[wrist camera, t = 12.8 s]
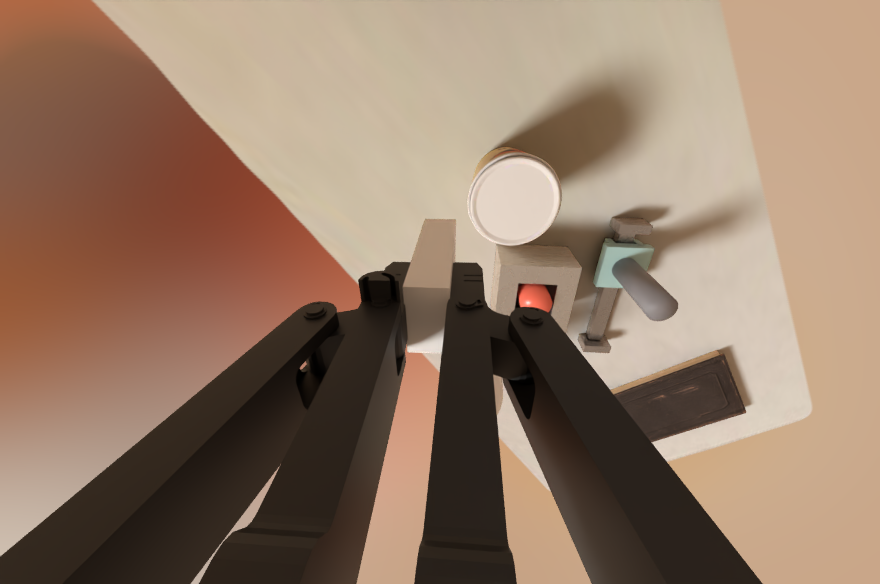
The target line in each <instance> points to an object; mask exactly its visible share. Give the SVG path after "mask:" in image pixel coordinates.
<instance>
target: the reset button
mask: <svg viewBox="0 0 880 584" xmlns="http://www.w3.org/2000/svg"><path fill="white" fill-rule="evenodd" d="M517 295H518V299H519V303H520V306H521V307H536V308H539V309H542V310H544V311H546V312H549V311H550V309H551V307H552V299H551V297H550V294H549V292H548V290H547V287H546V285H545V284H524V283H518V289H517Z"/></svg>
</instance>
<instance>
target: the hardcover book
mask: <svg viewBox="0 0 880 584" xmlns="http://www.w3.org/2000/svg"><path fill="white" fill-rule="evenodd" d="M610 391H611V392H612V393H613V394H614V396H615V397H616V398H617V399H618V401H619V402H620V403H621V405H622V406H623V407H624V408H625V410H626V411H627V412H628V413H629V415H630V416H631V417H632V419H633V420H634V421H635V422H636V424H637V425H638V426H639V427H640V429H641V430H642V431H643V432H644V434H645V435H646V436H647V438H648V439H649V440H650V441H651V442H654V441H657V440H660V439H663V438H667V437H670V436H673V435H676V434H679V433H683V432H686V431H689V430H692V429H696V428H699V427H702V426H705V425H708V424H712V423H715V422H718V421H721V420H724V419H728V418H731V417H734V416H737V415H741V414H744V413H746V410H745V407H744V405H743V402H742V400H741V397H740V394H739V392H738V389H737V387H736V384H735V381H734V379H733V376H732V374H731V371H730V368H729V366H728V363H727V360H726V358H725V355H724V354H721V355H720V354H719V353H718V352H717V351H713V352H710V353H708V354H705V355H702V356H700V357H697V358H694V359H692V360H689V361H686V362H684V363H681V364H678V365H676V366H673V367H670V368H668V369H665V370H662V371H660V372H657V373H654V374H652V375H649V376H646V377H644V378H641V379H638V380H636V381H633V382H630V383H628V384H625V385H623V386H620V387H617V388H615V389H612V390H610Z"/></svg>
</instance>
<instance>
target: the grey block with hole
mask: <svg viewBox="0 0 880 584" xmlns="http://www.w3.org/2000/svg"><path fill="white" fill-rule="evenodd" d="M581 271H582V267H581V266H580V264H579V263H578V261H577V260H576V258H575V257H574V255H573V254H572V253H571V251H570V250H569V248H568V247H567V246H541V245H511V246H509V245H501V244H496V253H495V263H494V272H493V282H492V291H491V301H490V305H491V310H493V311H495V312H497V313H500V314H503V315H508V316H510V314H511V312H512V311H513V310H515V309H516V308H520V307H521V306H520V303H519V299H518V295H517V289H518V283H524V284H545V285H546V287H547V290H548V292H549V294H550V297H551V299H552V307H551V309H550V311H549V312H548V313H549V314H550V315H551V316H552V317H553V318H554V319H555V321H556V322H557V323H558V325H559V326H560V327H561V328H562V330H563V331H564V332H565V333H566V330H567V326H568V322H569V318H570V314H571V310H572V306H573V303H574V299H575V295H576V291H577V287H578V283H579V279H580V275H581Z"/></svg>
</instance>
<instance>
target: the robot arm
mask: <svg viewBox="0 0 880 584" xmlns="http://www.w3.org/2000/svg"><path fill="white" fill-rule="evenodd" d="M455 238H456V220H455V219H425V221H424V224H423V227H422V230H421V233H420V236H419V239H418V242H417V245H416V248H415V251H414V254H413V257H412V260H411V262H393V263H391V264H390V265H388V266H387V267H386V268H385V270H384V271H375V272H371V273H367V274H365V275H363V276H362V277H361V278H360V279H359V280H358V281H359V288H360V294H361V301H362V302H361V304H360V306H359V308H358V309H355V310H351V311H345V312H338V313H337V309H336V307H335V306H334V305H333V304H331V303H328V302H313V303H310V304H307V305H305V306H303V307H301V308H300V309H298V310H297V311H296V312H294V313H293V314H292V315H291V316H290V317H288V318H287V319H286V320H285V321H284V322H282V323H281V324H280V325H279V326H278V327H276V328H275V329H274V330H273V331H272V332H270V333H269V334H268V335H267V336H265V337H264V338H263V339H262V340H261V341H259V342H258V343H257V344H256V345H255V346H253V347H252V348H251V349H250V350H249V351H247V352H246V353H245V354H244V355H243V356H241V357H240V358H239V359H238V360H237V361H235V362H234V363H233V364H232V365H231V366H229V367H228V368H227V369H226V370H225V371H223V372H222V373H221V374H220V375H218V376H217V377H216V378H215V379H214V380H212V381H211V382H210V383H209V384H208V385H206V386H205V387H204V388H203V389H202V390H200V391H199V392H198V393H197V394H196V395H194V396H193V397H192V398H191V399H190V400H188V401H187V402H186V403H185V404H184V405H182V406H181V407H180V408H179V409H178V410H176V411H175V412H174V413H173V414H171V415H170V416H169V417H168V418H167V419H166V420H165V421H163V422H162V423H161V424H159V425H158V426H157V427H156V428H155V429H153V430H152V431H151V432H150V433H149V434H147V435H146V436H145V437H144V438H143V439H141V440H140V441H139V442H138V443H137V444H135V445H134V446H133V447H132V448H131V449H129V450H128V451H127V452H126V453H124V454H123V455H122V456H121V457H120V458H118V459H117V460H116V461H115V462H114V463H112V464H111V465H110V466H109V467H108V468H106V469H105V470H104V471H103V472H102V473H100V474H99V475H98V476H97V477H96V478H94V479H93V480H92V481H91V482H90V483H88V484H87V485H86V486H85V487H84V488H82V489H81V490H80V491H79V492H77V493H76V494H75V495H74V496H73V497H72V498H70V499H69V500H68V501H67V502H65V503H64V504H63V505H62V506H61V507H59V508H58V509H57V510H56V511H55V512H53V513H52V514H51V515H50V516H49V517H48V518H46V519H45V520H44V521H43V522H42V523H40V524H39V525H38V526H37V527H36V528H34V529H33V530H32V531H30V532H29V533H28V534H27V535H26V536H24V537H23V538H22V539H21V540H20V541H18V542H17V543H16V544H15V545H14V546H13V547H11V548H10V549H9V550H8V551H7V552H5V553H4V554H3V555H2V556H0V584H191V582H192V581H193V580H194V578H195V577H196V575H197V574H198V573H199V572H200V570H201V569H202V568H203V566H204V565H205V564H206V562H207V561H208V560H209V558H210V557H211V556H212V554H213V553H214V552H215V550H216V549H217V548H218V546H219V545H220V544H221V542H222V541H223V540H224V539H225V537H226V536H227V535H228V533H229V532H230V531H231V529H232V528H233V527H234V525H235V524H236V523H237V521H238V520H239V519H240V517H241V516H242V515H243V513H244V512H245V511H246V509H247V508H248V507H249V505H250V504H251V503H252V501H253V500H254V499H255V498H256V496H257V495H258V493H259V492H260V491H261V490H262V488H263V487H264V486H265V484H266V483H267V482H268V480H269V479H270V478H271V476H272V475H273V474H274V472H275V471H276V470H277V468H278V467H279V466H280V467H279V469H278V471H277V473H276V476H275V478H274V480H273V482H272V484H271V486H270V488H269V490H268V492H267V494H266V496H265V498H264V500H263V502H262V504H261V506H260V508H259V510H258V512H257V514H256V516H255V517H254V519H253V520H252V522H251V523H250V524H249V525H248V526H247V527H245V528H243V529H240V530H237V531H235V532H233V533H232V534H231V535H230V536H229V537H228V538H227V539H226V540H225V541H224V542H223V543H222V545H221V546H220V548H219V549H218V551H217V552H216V554H215V556H214V557H213V559H212V560H211V562H210V564H209V566H208V568H207V570H206V571H205V573H204V575H203V577H202V579H201V581H200V583H199V584H356V583H357V578H358V574H359V569H360V564H361V560H362V555H363V551H364V547H365V542H366V538H367V533H368V529H369V524H370V520H371V515H372V511H373V507H374V502H375V497H376V493H377V488H378V484H379V480H380V475H381V470H382V466H383V461H384V457H385V452H386V448H387V444H388V439H389V435H390V430H391V426H392V421H393V417H394V412H395V407H396V404H397V399H398V394H399V390H400V385H401V381H402V377H403V372H404V367H405V363H406V358H405V348H406V344H407V348H408V352H419V353H442V356H441V366H440V376H439V385H438V396H437V405H436V415H435V424H434V434H433V444H432V453H431V463H430V473H429V483H428V493H427V502H426V512H425V521H424V531H423V537H422V541H421V544H420V547H419V553H418V558H417V566H416V574H415V583H414V584H517V582H516V574H515V566H514V561H513V555H512V552H511V550H510V548H509V546H508V540H507V531H506V519H505V507H504V495H503V484H502V472H501V460H500V448H499V437H498V425H497V413H496V401H495V390H494V378H493V375H496V376H499V377H502V378H503V383H504V386H505V388H506V390H507V393H508V395H509V397H510V399H511V402H512V404H513V406H514V408H515V411H516V413H517V415H518V417H519V420H520V422H521V424H522V427H523V429H524V431H525V433H526V436H527V438H528V440H529V442H530V445H531V447H532V449H533V451H534V454H535V456H536V458H537V461H538V463H539V465H540V467H541V470H542V472H543V474H544V476H545V479H546V481H547V483H548V485H549V488H550V490H551V492H552V495H553V497H554V499H555V501H556V504H557V506H558V508H559V510H560V513H561V515H562V517H563V519H564V522H565V524H566V526H567V528H568V531H569V533H570V535H571V538H572V540H573V542H574V544H575V547H576V549H577V551H578V553H579V556H580V558H581V560H582V562H583V565H584V567H585V569H586V572H587V574H588V576H589V578H590V581H591V583H592V584H762V583H761V581H760V580H759V579H758V578H757V576H756V575H755V574H754V572H753V571H752V570H751V569H750V567H749V566H748V565H747V563H746V562H745V561H744V560H743V558H742V557H741V556H740V554H739V553H738V552H737V551H736V549H735V548H734V547H733V546H732V544H731V543H730V542H729V540H728V539H727V538H726V537H725V536H724V534H723V533H722V532H721V530H720V529H719V528H718V527H717V525H716V524H715V523H714V521H713V520H712V519H711V518H710V516H709V515H708V514H707V513H706V511H705V510H704V509H703V508H702V506H701V505H700V504H699V502H698V501H697V500H696V499H695V497H694V496H693V495H692V493H691V492H690V491H689V490H688V488H687V487H686V486H685V485H684V484H683V482H682V481H681V480H680V478H679V477H678V476H677V474H676V473H675V472H674V471H673V470H672V468H671V467H670V466H669V464H668V463H667V462H666V460H665V459H664V458H663V457H662V455H661V454H660V453H659V452H658V450H657V449H656V448H655V446H654V445H653V444H652V443H651V441H650V440H649V439H648V438H647V436H646V435H645V434H644V432H643V431H642V430H641V429H640V427H639V426H638V425H637V424H636V422H635V421H634V420H633V419H632V417H631V416H630V415H629V413H628V412H627V411H626V410H625V408H624V407H623V406H622V405H621V403H620V402H619V401H618V399H617V398H616V397H615V396H614V394H613V393H612V392H611V391H610V389H609V388H608V387H607V385H606V384H605V383H604V382H603V380H602V379H601V378H600V377H599V375H598V374H597V373H596V372H595V370H594V369H593V368H592V366H591V365H590V364H589V363H588V361H587V360H586V359H585V358H584V356H583V355H582V354H581V352H580V351H579V350H578V349H577V347H576V346H575V345H574V344H573V342H572V341H571V340H570V338H569V337H568V336H567V335H566V333H565V332H564V331H563V330H562V328H561V327H560V326H559V325H558V323H557V322H556V321H555V319H554V318H553V317H552V316H551V315H550V314H549V313H548V312H546V311H544V310H542V309H539V308H536V307H520V308H516V309H515V310H513V311H512V312H511V314H510V316H508V315H503V314H500V313H497V312H495V311H493V310H491V309H490V308H489V307H488V306H487V303H486V301H485V296H484V283H483V271H482V268H481V267H480V266H479V265H478V264H477V263H458V262H455ZM305 361H306V363H307V365H306V366H305V367H304V368H303V369H302V370H300V367H301V365H302V364H303V363H304V362H305ZM280 464H281V465H280Z"/></svg>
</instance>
